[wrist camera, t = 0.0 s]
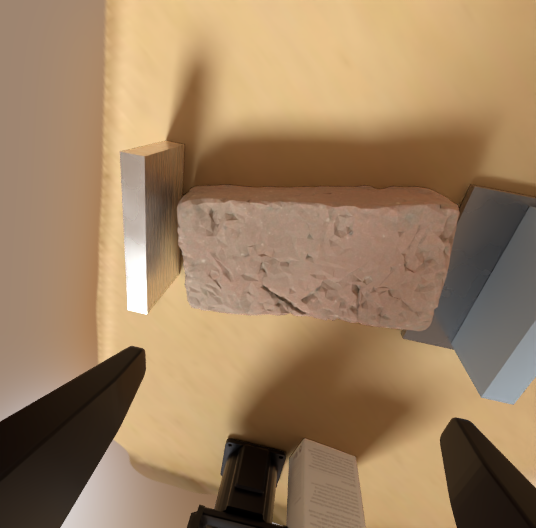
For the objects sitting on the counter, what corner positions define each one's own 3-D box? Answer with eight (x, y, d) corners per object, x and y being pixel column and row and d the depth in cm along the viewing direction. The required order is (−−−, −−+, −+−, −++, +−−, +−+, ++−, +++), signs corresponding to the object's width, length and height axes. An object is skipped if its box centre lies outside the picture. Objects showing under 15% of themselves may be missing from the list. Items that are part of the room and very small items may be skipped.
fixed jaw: (179, 274, 25) (146, 314, 21) (163, 270, 26) (127, 309, 21) (184, 144, 21) (144, 156, 16) (165, 140, 21) (119, 151, 16)
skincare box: (288, 457, 34) (279, 616, 24) (304, 435, 32) (302, 598, 22) (339, 475, 35) (352, 638, 24) (358, 454, 33) (381, 622, 22)
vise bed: (534, 362, 25) (539, 368, 24) (400, 333, 25) (402, 338, 25) (645, 218, 19) (654, 221, 19) (470, 184, 20) (475, 186, 19)
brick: (203, 284, 26) (182, 318, 22) (190, 181, 22) (162, 198, 18) (414, 295, 24) (435, 335, 20) (439, 183, 20) (472, 204, 16)
